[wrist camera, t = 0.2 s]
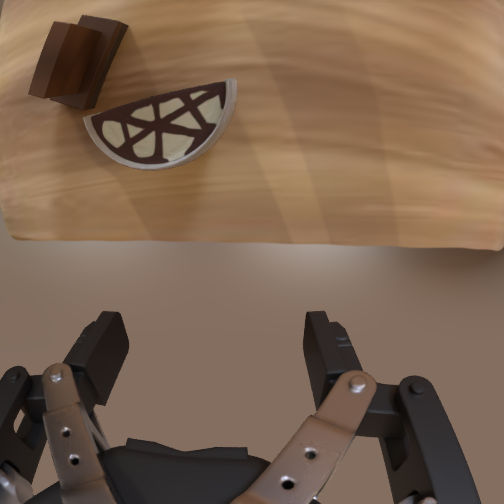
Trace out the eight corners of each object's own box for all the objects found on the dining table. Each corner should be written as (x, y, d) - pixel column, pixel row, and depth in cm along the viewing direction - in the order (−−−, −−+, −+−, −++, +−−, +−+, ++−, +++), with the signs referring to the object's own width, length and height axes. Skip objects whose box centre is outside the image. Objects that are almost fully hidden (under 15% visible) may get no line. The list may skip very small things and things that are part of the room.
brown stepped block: (93, 18, 20) (50, 5, 13) (129, 25, 21) (91, 9, 14) (62, 97, 25) (15, 106, 17) (94, 107, 26) (50, 118, 19)
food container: (136, 160, 30) (95, 191, 21) (124, 108, 26) (77, 119, 18) (247, 139, 29) (247, 161, 20) (239, 82, 26) (235, 77, 17)
